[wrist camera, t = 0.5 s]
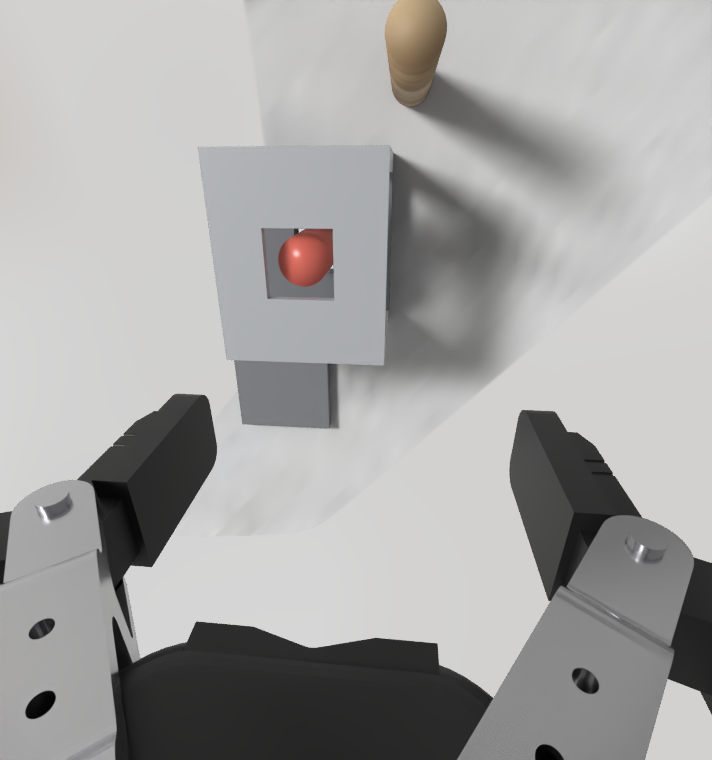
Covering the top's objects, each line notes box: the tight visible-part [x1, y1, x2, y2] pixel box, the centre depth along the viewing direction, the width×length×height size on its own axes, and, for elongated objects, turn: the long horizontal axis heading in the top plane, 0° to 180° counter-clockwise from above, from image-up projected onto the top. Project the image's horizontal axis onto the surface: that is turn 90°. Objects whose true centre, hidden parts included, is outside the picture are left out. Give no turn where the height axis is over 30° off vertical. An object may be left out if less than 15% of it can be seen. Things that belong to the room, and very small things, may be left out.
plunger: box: [278, 229, 333, 287], centre depth 29 cm, size 3×3×6 cm
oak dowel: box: [385, 0, 447, 106], centre depth 23 cm, size 2×2×12 cm
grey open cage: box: [198, 145, 394, 366], centre depth 29 cm, size 12×10×9 cm
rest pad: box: [234, 360, 331, 428], centre depth 39 cm, size 8×8×1 cm
